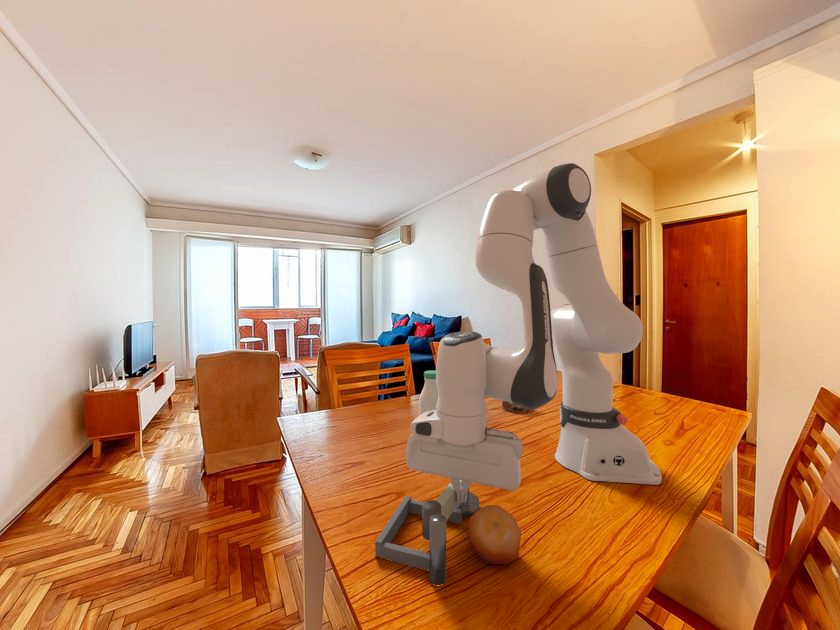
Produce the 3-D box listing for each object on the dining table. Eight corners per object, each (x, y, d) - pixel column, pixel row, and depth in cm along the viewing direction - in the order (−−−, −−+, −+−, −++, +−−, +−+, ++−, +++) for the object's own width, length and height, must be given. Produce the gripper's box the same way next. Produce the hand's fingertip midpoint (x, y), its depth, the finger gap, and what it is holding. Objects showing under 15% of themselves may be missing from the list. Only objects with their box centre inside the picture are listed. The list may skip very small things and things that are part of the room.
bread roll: (531, 418, 125) (533, 396, 128) (524, 413, 117) (527, 390, 120) (504, 413, 131) (507, 392, 133) (496, 408, 123) (500, 386, 125)
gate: (472, 497, 66) (472, 466, 65) (436, 553, 51) (436, 514, 51) (458, 493, 67) (458, 462, 67) (418, 547, 52) (418, 508, 52)
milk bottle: (443, 447, 92) (443, 375, 91) (416, 444, 94) (416, 374, 93) (447, 436, 100) (447, 369, 99) (421, 434, 101) (421, 368, 100)
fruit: (507, 520, 59) (515, 496, 55) (520, 574, 53) (530, 552, 48) (462, 522, 59) (466, 497, 54) (469, 576, 52) (474, 553, 48)
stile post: (448, 575, 49) (448, 515, 49) (443, 588, 47) (443, 526, 46) (432, 571, 50) (432, 512, 50) (427, 584, 48) (427, 522, 47)
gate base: (481, 501, 67) (481, 494, 67) (476, 520, 62) (476, 512, 62) (452, 495, 69) (452, 488, 69) (444, 513, 64) (444, 505, 63)
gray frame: (461, 520, 61) (461, 507, 61) (443, 575, 49) (443, 558, 49) (405, 508, 65) (405, 495, 65) (375, 556, 53) (375, 541, 53)
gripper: (524, 426, 58) (524, 504, 59) (416, 412, 66) (416, 480, 66) (520, 440, 52) (520, 527, 53) (401, 423, 60) (402, 498, 61)
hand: (461, 501), depth 60 cm, fingers closed, pressing on gate
